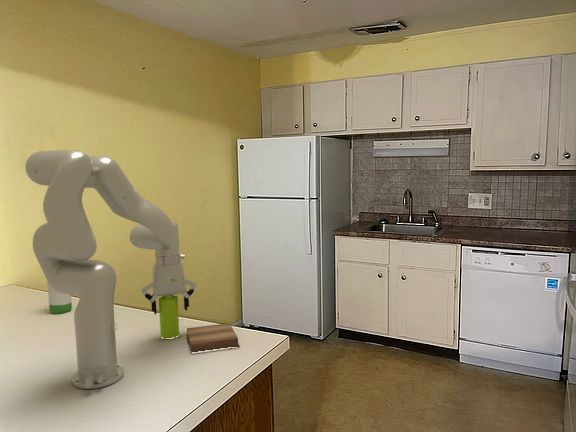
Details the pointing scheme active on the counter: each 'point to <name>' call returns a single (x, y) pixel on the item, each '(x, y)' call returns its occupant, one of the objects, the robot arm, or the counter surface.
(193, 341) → the plinth
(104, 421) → the counter surface
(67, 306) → the wine bottle
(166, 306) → the soap dispenser
